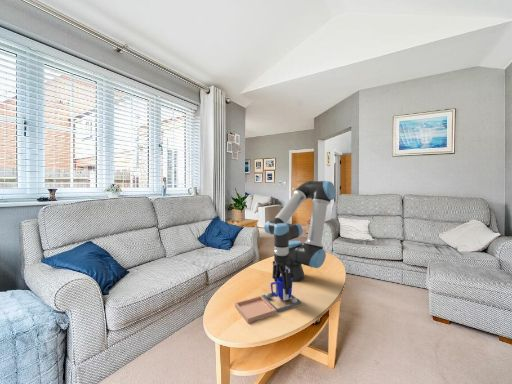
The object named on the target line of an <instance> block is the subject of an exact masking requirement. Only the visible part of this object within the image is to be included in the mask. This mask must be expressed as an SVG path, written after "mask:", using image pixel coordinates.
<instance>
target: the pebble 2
mask: <svg viewBox="0 0 512 384" xmlns="http://www.w3.org/2000/svg"><path fill="white" fill-rule="evenodd" d="M296 298H297V297H296ZM296 298H291V304H293V303H296V302H298V300H297V299H298V298H297V299H296Z"/></svg>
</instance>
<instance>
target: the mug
mask: <svg viewBox="0 0 512 384" xmlns="http://www.w3.org/2000/svg"><path fill="white" fill-rule="evenodd" d="M293 282H294V281H293V279H292V278H291V283H292V284H293ZM275 284H277V287H278V294H277V295H274V293H273V292H274V287H273V285H275ZM283 288H284V283H283V278H282V276H281V275H280V277H278V278H277V282H275V281H273V282H270V290H271V293H272V295H273V296H272V297H274V298H276V297H278V298H279V299H280V300H283ZM292 292H293V287H292V288H289V299H288V300H290V299H292V298H291V294H292ZM292 295H293V294H292Z"/></svg>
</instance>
